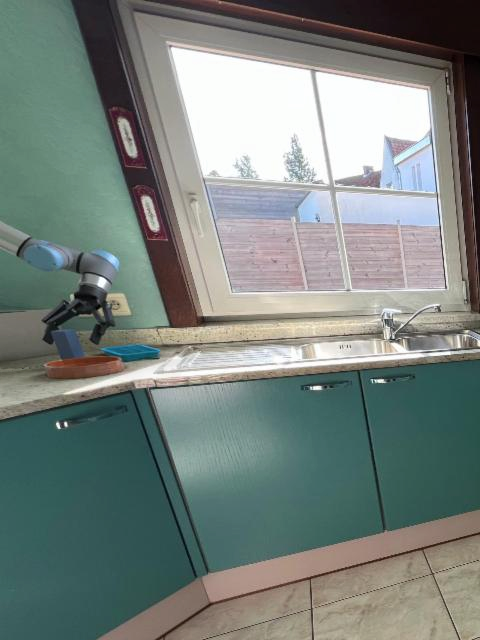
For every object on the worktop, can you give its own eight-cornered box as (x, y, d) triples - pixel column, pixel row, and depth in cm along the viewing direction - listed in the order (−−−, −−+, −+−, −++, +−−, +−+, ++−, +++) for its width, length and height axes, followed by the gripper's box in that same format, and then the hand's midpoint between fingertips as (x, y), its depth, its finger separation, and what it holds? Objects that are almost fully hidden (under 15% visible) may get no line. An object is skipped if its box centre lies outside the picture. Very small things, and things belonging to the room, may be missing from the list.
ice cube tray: (142, 352, 187) (139, 344, 186) (165, 358, 177) (162, 350, 176) (101, 356, 178) (98, 348, 176) (123, 364, 168) (120, 355, 167)
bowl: (41, 383, 143) (36, 369, 142) (56, 371, 156) (51, 359, 155) (120, 376, 152) (116, 363, 151) (129, 366, 165) (125, 354, 164)
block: (64, 368, 160) (50, 331, 156) (75, 365, 164) (61, 329, 159) (78, 368, 160) (64, 331, 156) (88, 365, 164) (75, 329, 160)
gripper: (140, 299, 173) (121, 349, 165) (61, 297, 170) (38, 348, 162) (124, 284, 167) (103, 335, 158) (41, 282, 164) (16, 335, 155)
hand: (70, 342), depth 160 cm, fingers open, 13 cm apart
